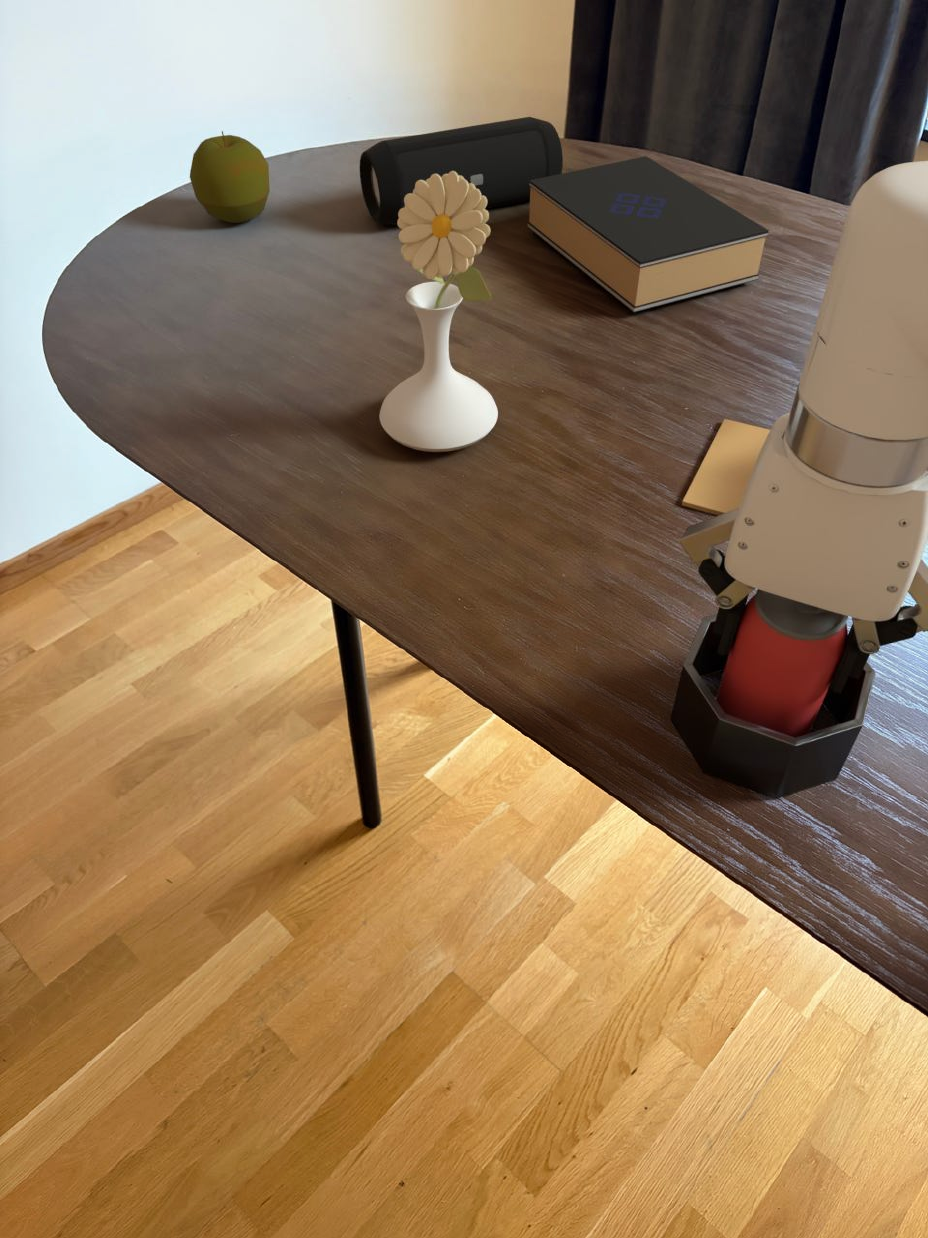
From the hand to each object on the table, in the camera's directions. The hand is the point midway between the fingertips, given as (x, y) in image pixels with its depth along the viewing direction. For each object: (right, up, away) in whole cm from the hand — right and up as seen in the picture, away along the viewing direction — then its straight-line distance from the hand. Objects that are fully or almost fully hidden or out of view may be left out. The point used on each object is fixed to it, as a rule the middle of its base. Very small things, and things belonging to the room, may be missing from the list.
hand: (782, 657), depth 61 cm
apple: (-51, +56, +64) cm, 99 cm away
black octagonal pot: (0, -5, +5) cm, 7 cm away
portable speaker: (-21, +58, +66) cm, 90 cm away
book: (+1, +47, +55) cm, 72 cm away
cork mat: (+7, +15, +24) cm, 29 cm away
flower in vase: (-23, +21, +30) cm, 43 cm away
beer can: (0, -5, +5) cm, 7 cm away
